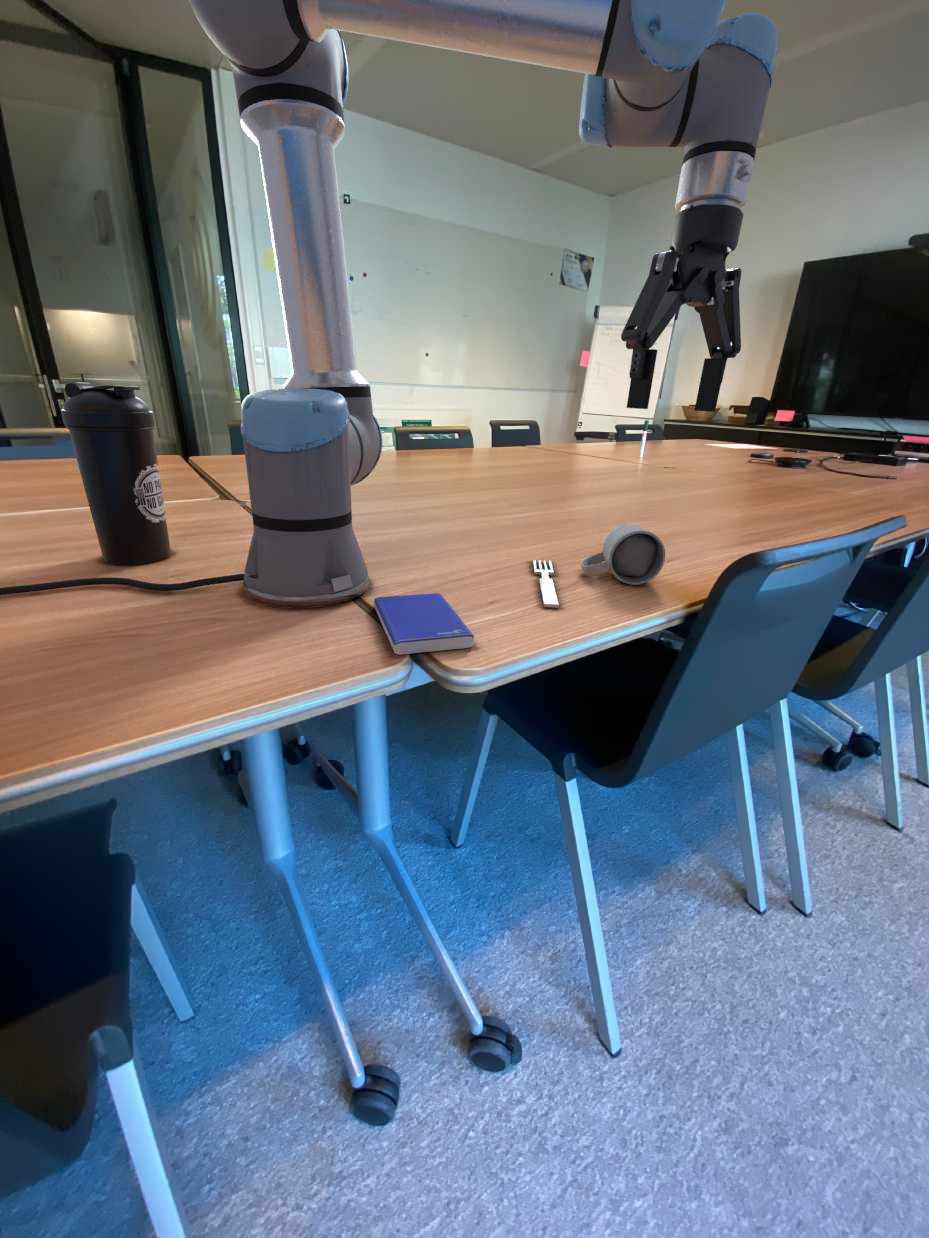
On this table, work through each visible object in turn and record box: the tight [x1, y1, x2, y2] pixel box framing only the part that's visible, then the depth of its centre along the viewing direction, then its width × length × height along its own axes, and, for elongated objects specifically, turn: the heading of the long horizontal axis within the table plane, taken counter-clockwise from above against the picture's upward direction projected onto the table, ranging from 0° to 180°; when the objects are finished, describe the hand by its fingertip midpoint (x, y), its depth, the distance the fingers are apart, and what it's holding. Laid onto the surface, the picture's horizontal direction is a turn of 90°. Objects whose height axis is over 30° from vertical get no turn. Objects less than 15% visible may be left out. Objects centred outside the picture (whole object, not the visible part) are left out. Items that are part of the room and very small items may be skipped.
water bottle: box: [60, 381, 172, 566], centre depth 73 cm, size 10×10×23 cm
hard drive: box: [373, 592, 475, 655], centre depth 58 cm, size 2×8×12 cm
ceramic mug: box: [580, 524, 666, 586], centre depth 77 cm, size 11×8×8 cm
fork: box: [532, 559, 560, 609], centre depth 74 cm, size 3×19×1 cm, turn 176°
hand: (672, 410), depth 69 cm, fingers open, 13 cm apart
